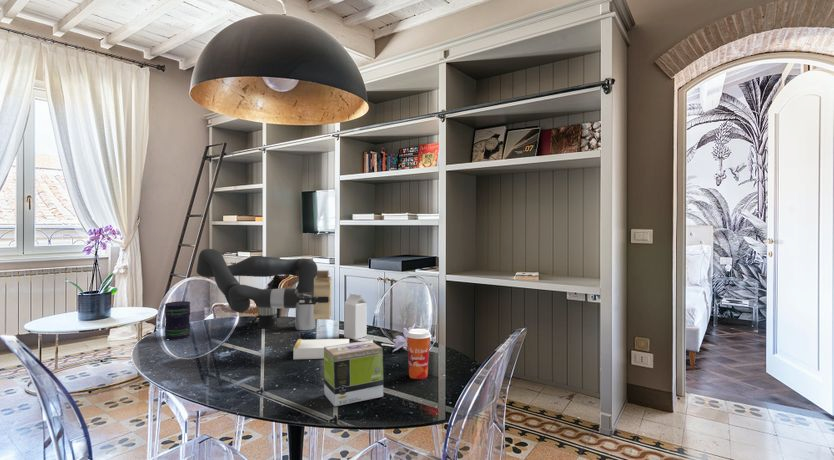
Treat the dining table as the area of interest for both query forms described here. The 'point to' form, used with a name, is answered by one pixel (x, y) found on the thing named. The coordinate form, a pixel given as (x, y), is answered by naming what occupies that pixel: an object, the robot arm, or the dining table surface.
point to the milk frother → (266, 317)
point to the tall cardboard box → (322, 290)
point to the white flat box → (314, 348)
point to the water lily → (401, 339)
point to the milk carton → (355, 317)
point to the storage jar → (177, 320)
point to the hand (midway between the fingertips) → (328, 298)
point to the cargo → (322, 274)
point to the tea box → (353, 372)
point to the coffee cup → (418, 352)
